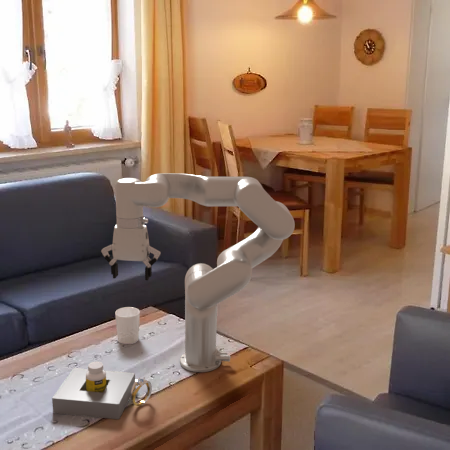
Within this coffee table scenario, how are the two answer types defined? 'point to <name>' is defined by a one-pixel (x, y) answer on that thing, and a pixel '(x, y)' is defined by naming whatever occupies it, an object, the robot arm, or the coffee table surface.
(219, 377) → the coffee table surface
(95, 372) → the supplement bottle
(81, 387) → the socket block
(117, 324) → the white cup
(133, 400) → the ring
